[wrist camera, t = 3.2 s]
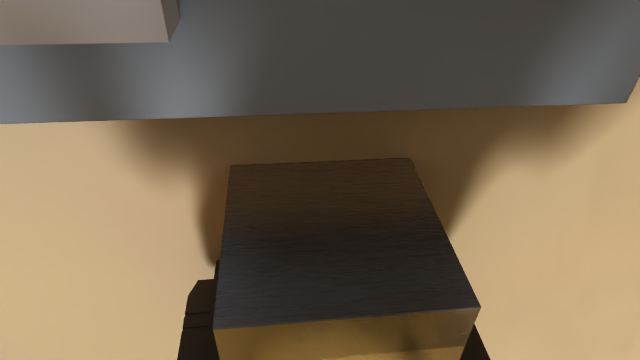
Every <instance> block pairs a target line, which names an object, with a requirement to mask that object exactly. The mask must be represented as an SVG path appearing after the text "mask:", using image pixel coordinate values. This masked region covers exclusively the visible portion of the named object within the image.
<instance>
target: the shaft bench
mask: <svg viewBox="0 0 640 360" xmlns="http://www.w3.org/2000/svg"><path fill="white" fill-rule="evenodd" d="M639 77H640V0H0V124H18V123H48V122H77V121H107V120H137V119H167V118H196V117H226V116H256V115H286V114H316V113H345V112H375V111H405V110H435V109H464V108H494V107H524V106H554V105H583V104H613V103H626V102H627V100H628V98H629V96H630V94H631V92H632V91H633V89H634V87H635V85H636V83H637V81H638V79H639Z"/></svg>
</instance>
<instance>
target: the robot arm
mask: <svg viewBox="0 0 640 360" xmlns="http://www.w3.org/2000/svg"><path fill="white" fill-rule="evenodd" d="M219 265H220V260H217V261H216V267H215V275H214V279H208V280H198V281H197V283H196V285H195V286H194V288H193V289H192V291H191V292H190V294H189V295H188V300H187V305H186V311H185V317H184V323H183V331H182V335H181V341H180V347H179V352H178V358H177V360H220V358H219V353H218V349H217V345H216V340H215V336H214V332H213V320H214V311H215V302H216V293H217V283H218V274H219ZM460 360H491V359H490V358H489V356H488V353H487V351H486V349H485V347H484V344H483V342H482V340H481V338H480V335H479V333H478V331H477V329H476V326H475V324H474V325H473V328H472V330H471V333H470V335H469V338H468V340H467V343H466V345H465V347H464V350H463V352H462V355H461V357H460Z"/></svg>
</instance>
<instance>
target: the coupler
mask: <svg viewBox="0 0 640 360" xmlns="http://www.w3.org/2000/svg"><path fill="white" fill-rule="evenodd" d="M480 308H481V306H480V304H479V302H478V300H477V298H476V295H475V293H474V291H473V289H472V287H471V285H470V283H469V281H468V279H467V277H466V275H465V272H464V270H463V268H462V266H461V264H460V262H459V260H458V258H457V256H456V254H455V252H454V249H453V247H452V245H451V243H450V241H449V239H448V237H447V235H446V233H445V231H444V228H443V226H442V224H441V222H440V220H439V218H438V216H437V214H436V212H435V210H434V208H433V205H432V203H431V201H430V199H429V197H428V195H427V193H426V191H425V189H424V187H423V185H422V182H421V180H420V178H419V176H418V174H417V172H416V170H415V168H414V166H413V164H412V161H411V159H410V158H397V159H374V160H352V161H329V162H306V163H284V164H261V165H239V166H230V172H229V182H228V191H227V200H226V209H225V219H224V228H223V237H222V246H221V256H220V265H219V274H218V283H217V293H216V302H215V311H214V320H213V332H214V336H215V340H216V345H217V349H218V353H219V358H220V360H460V357H461V355H462V352H463V350H464V347H465V345H466V343H467V340H468V338H469V335H470V333H471V330H472V328H473V325H474V323H475V320H476V318H477V315H478V313H479V311H480Z"/></svg>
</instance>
